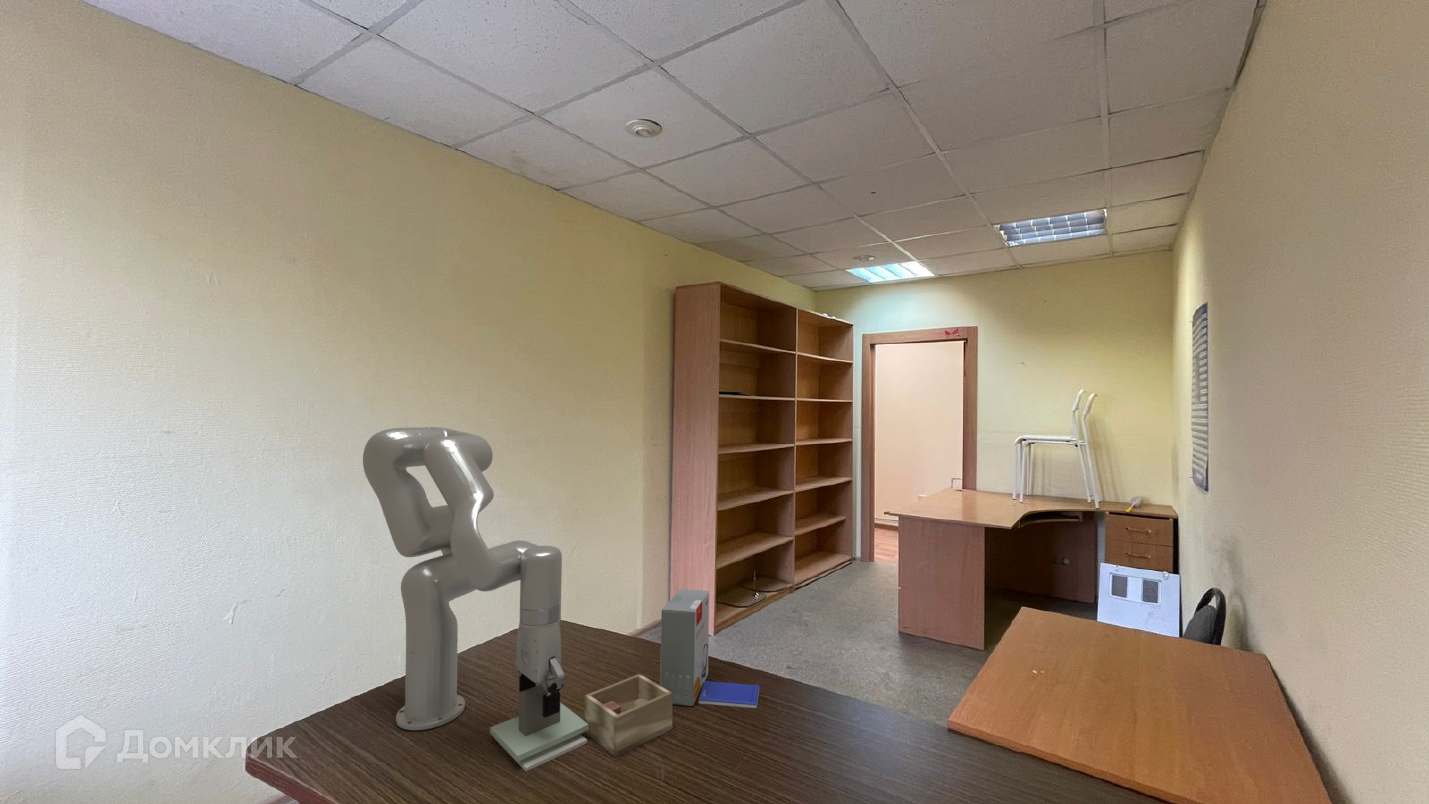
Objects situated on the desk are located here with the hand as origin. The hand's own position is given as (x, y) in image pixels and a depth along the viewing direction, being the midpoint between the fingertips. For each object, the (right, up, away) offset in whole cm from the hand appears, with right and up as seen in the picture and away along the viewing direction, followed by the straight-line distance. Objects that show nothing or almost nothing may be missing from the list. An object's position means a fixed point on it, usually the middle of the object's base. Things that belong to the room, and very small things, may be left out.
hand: (538, 704), depth 104 cm
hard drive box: (+27, -8, +20) cm, 34 cm away
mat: (0, -7, 0) cm, 7 cm away
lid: (0, -6, 0) cm, 6 cm away
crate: (+17, -7, +3) cm, 18 cm away
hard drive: (+37, -8, +16) cm, 41 cm away
